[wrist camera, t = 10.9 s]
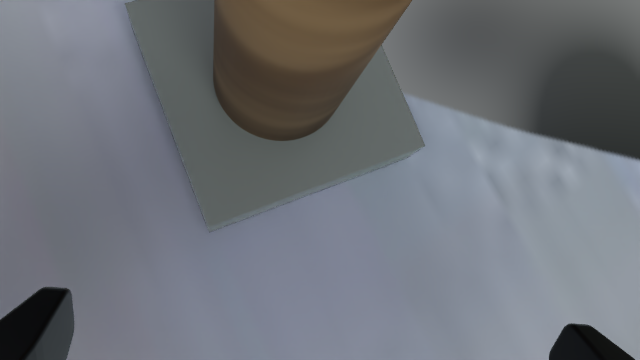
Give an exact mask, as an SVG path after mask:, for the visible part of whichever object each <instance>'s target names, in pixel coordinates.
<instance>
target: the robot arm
mask: <svg viewBox="0 0 640 360" xmlns="http://www.w3.org/2000/svg"><path fill="white" fill-rule="evenodd" d="M73 333H74V314H73V303H72V294H71V292H70V290H69V289H67V288H58V287H43V288H41V289H40V290H38V291H37V292H36V293H34V294H33V295H32V296H30V297H29V298H28V299H27V300H25V301H24V302H23V303H21V304H20V305H19V306H17V307H16V308H15V309H14V310H12V311H11V312H10V313H8V314H7V315H6V316H5V317H3V318H2V319H1V320H0V360H66V358H67V355H68V351H69V348H70V344H71V341H72V337H73ZM549 360H635V359H634V358H632V357H631V356H630V355H629V354H627V353H626V352H625V351H623V350H622V349H621V348H619V347H618V346H617V345H615V344H614V343H613V342H612V341H610V340H609V339H608V338H606V337H605V336H604V335H602V334H601V333H600V332H598V331H597V330H596V329H594V328H593V327H592V326H589V325H586V324H568V325H566V326H565V327H564V328H563V330H562V332H561V333H560V335H559V337H558V338H557V340H556V342H555V344H554V345H553V347H552V349H551V351H550V354H549Z"/></svg>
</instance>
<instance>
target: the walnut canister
mask: <svg viewBox="0 0 640 360" xmlns="http://www.w3.org/2000/svg"><path fill="white" fill-rule="evenodd" d="M411 1H412V0H214V54H213V82H214V88H215V92H216V96H217V98H218V101H219V103H220V105H221V106H222V108H223V110H224V111H225V112H226V114H227V115H228V116H229V118H230V119H231V120H232V121H233V122H234V123H236V124H237V125H238V126H239V127H241V128H242V129H244V130H245V131H247V132H249V133H250V134H253V135H255V136H257V137H260V138H264V139H268V140H274V141H289V140H295V139H300V138H303V137H306V136H308V135H310V134H312V133H314V132H316V131H317V130H318V129H320V128H321V127H322V126H323V125H324V124H326V123H327V122H328V120H329V119H330V118H331V117H332V115H333V114H334V112H335V111H336V109H337V108H338V107H339V105H340V104H341V102H342V101H343V99H344V98H345V97H346V95H347V94H348V92H349V91H350V89H351V88H352V86H353V85H354V84H355V82H356V81H357V79H358V78H359V76H360V75H361V73H362V72H363V71H364V69H365V68H366V66H367V65H368V63H369V62H370V60H371V59H372V58H373V56H374V55H375V53H376V52H377V50H378V49H379V47H380V46H381V45H382V43H383V42H384V40H385V39H386V37H387V36H388V34H389V33H390V31H391V30H392V29H393V27H394V26H395V24H396V23H397V22H398V20H399V18H400V17H401V16H402V14H403V13H404V11H405V10H406V9H407V7H408V6H409V4H410V3H411Z"/></svg>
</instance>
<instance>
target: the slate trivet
mask: <svg viewBox="0 0 640 360" xmlns="http://www.w3.org/2000/svg"><path fill="white" fill-rule="evenodd" d="M125 5H126V9H127V12H128V15H129V19H130V22H131V25H132V29H133V31H134V34H135V37H136V39H137V42H138V45H139V47H140V50H141V53H142V55H143V58H144V61H145V63H146V66H147V69H148V71H149V74H150V77H151V79H152V82H153V85H154V87H155V90H156V93H157V95H158V98H159V100H160V103H161V106H162V108H163V111H164V114H165V116H166V119H167V122H168V124H169V127H170V130H171V132H172V135H173V138H174V140H175V143H176V146H177V148H178V151H179V154H180V156H181V159H182V162H183V164H184V167H185V170H186V172H187V175H188V178H189V180H190V183H191V186H192V188H193V191H194V194H195V196H196V199H197V202H198V204H199V207H200V210H201V212H202V215H203V217H204V220H205V223H206V225H207V228H208V231H209V232H212V231H215V230H217V229H220V228H223V227H225V226H228V225H231V224H233V223H236V222H239V221H241V220H244V219H247V218H249V217H252V216H254V215H257V214H260V213H262V212H265V211H268V210H270V209H273V208H276V207H278V206H281V205H284V204H286V203H289V202H292V201H294V200H297V199H299V198H302V197H305V196H307V195H310V194H313V193H315V192H318V191H321V190H323V189H326V188H329V187H331V186H334V185H337V184H339V183H342V182H345V181H347V180H350V179H352V178H355V177H358V176H360V175H363V174H366V173H368V172H371V171H374V170H376V169H379V168H382V167H384V166H387V165H390V164H392V163H395V162H398V161H400V160H403V159H405V158H408V157H409V156H411V155H412V154H414V153H415V152H417V151H418V150H420V149H421V148H423V147H424V146H425V144H424V142H423V140H422V137H421V135H420V133H419V130H418V128H417V126H416V123H415V121H414V119H413V117H412V114H411V112H410V110H409V107H408V105H407V103H406V100H405V98H404V96H403V93H402V91H401V89H400V86H399V84H398V82H397V80H396V77H395V75H394V73H393V70H392V68H391V66H390V63H389V61H388V59H387V56H386V54H385V52H384V50H383V47H382V45H381V46H380V47H379V49H378V50H377V52H376V53H375V55H374V56H373V58H372V59H371V60H370V62H369V63H368V65H367V66H366V68H365V69H364V71H363V72H362V73H361V75H360V76H359V78H358V79H357V81H356V82H355V84H354V85H353V86H352V88H351V89H350V91H349V92H348V94H347V95H346V97H345V98H344V99H343V101H342V102H341V104H340V105H339V107H338V108H337V109H336V111H335V112H334V114H333V115H332V117H331V118H330V119H329V120H328V122H327V123H326V124H324V125H323V126H322V127H321V128H320V129H318V130H317V131H316V132H314V133H312V134H310V135H308V136H306V137H303V138H300V139H295V140H289V141H274V140H268V139H264V138H260V137H257V136H255V135H253V134H250V133H249V132H247V131H245V130H244V129H242V128H241V127H239V126H238V125H237V124H236V123H234V122H233V121H232V120H231V119H230V118H229V116H228V115H227V114H226V112H225V111H224V110H223V108H222V106H221V105H220V103H219V101H218V98H217V96H216V92H215V88H214V82H213V54H214V0H137V1H133V2H129V3H125Z"/></svg>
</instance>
